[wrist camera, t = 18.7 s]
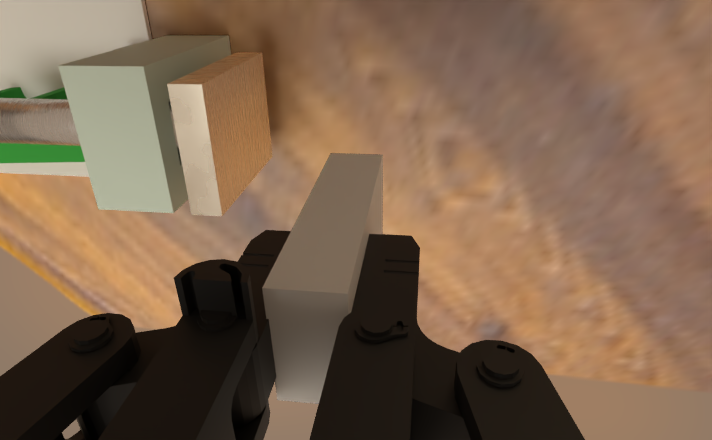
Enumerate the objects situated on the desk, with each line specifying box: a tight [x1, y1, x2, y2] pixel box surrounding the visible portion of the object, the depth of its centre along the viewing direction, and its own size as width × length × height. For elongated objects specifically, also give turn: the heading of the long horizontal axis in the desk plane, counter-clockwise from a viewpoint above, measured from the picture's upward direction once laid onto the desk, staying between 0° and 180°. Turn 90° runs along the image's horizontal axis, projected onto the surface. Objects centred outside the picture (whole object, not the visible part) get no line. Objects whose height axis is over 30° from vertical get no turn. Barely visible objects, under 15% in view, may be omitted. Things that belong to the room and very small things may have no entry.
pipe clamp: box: [0, 87, 85, 163], centre depth 32 cm, size 11×4×5 cm, turn 94°
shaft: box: [0, 52, 272, 216], centre depth 26 cm, size 6×16×8 cm, turn 91°
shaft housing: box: [58, 35, 231, 213], centre depth 28 cm, size 7×4×10 cm, turn 1°
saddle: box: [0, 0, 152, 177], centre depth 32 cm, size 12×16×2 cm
